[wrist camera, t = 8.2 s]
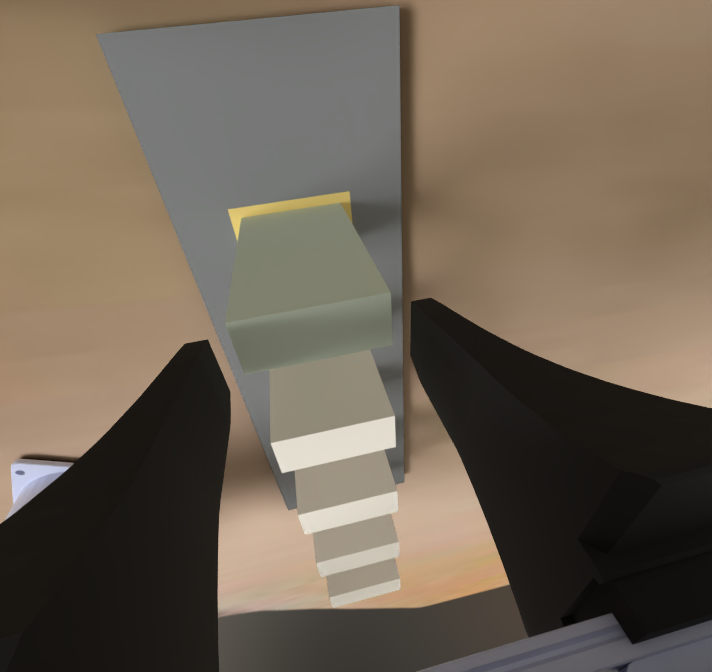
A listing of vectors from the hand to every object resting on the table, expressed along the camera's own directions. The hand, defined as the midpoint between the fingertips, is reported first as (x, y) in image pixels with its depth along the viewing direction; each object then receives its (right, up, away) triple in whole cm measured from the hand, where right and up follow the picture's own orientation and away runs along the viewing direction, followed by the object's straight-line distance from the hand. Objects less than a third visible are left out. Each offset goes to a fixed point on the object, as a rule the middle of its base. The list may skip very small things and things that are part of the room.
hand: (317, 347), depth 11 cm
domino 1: (-2, +6, +8) cm, 10 cm away
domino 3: (-1, -3, +14) cm, 15 cm away
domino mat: (-1, -1, +14) cm, 14 cm away
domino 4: (0, -7, +18) cm, 19 cm away
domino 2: (-1, +1, +11) cm, 11 cm away
